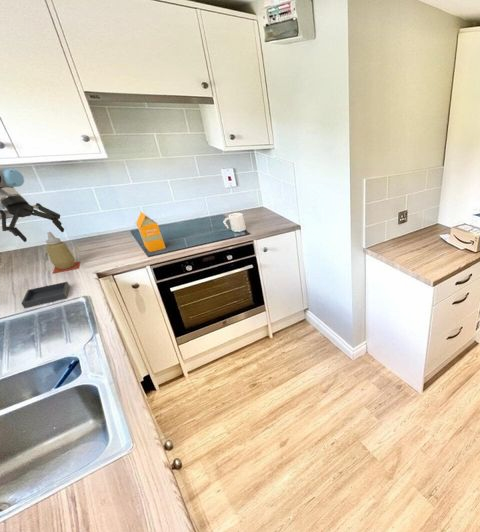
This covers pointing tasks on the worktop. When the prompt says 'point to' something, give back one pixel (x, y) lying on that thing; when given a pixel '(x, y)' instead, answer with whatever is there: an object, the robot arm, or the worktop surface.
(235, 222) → the mug
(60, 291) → the tray
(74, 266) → the mat
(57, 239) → the squeeze bottle
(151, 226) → the orange juice
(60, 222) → the robot arm
